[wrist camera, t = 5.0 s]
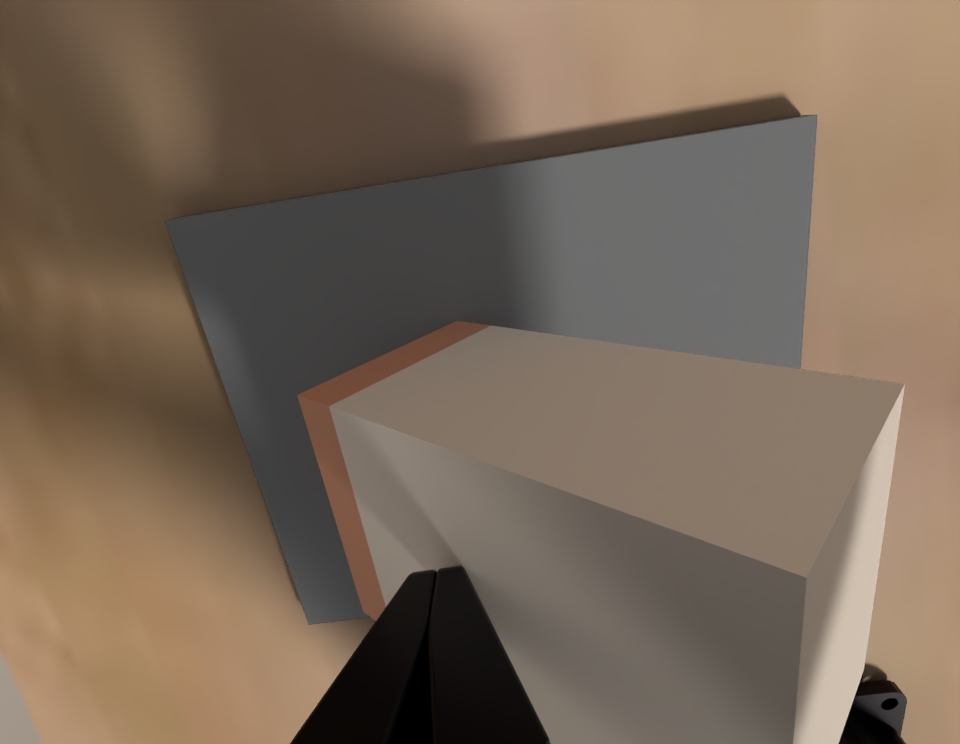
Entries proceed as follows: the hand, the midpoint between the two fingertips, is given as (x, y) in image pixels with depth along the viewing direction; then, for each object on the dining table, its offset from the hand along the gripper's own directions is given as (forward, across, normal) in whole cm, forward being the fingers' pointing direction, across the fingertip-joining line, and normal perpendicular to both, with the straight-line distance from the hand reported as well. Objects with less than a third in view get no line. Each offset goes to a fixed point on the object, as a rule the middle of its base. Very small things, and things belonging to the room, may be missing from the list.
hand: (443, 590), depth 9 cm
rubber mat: (+6, -2, 0) cm, 6 cm away
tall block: (+4, +1, 0) cm, 4 cm away
